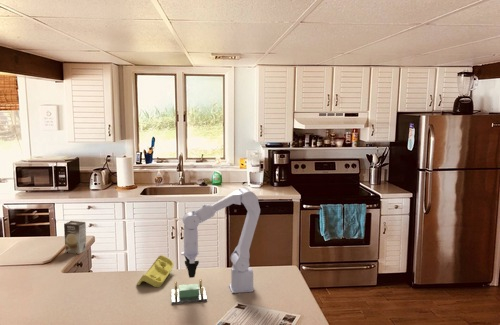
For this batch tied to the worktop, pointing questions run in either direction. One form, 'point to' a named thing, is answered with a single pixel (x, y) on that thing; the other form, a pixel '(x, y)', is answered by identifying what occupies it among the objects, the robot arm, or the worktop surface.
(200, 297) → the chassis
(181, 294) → the green rectangular block
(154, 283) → the plastic component
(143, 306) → the worktop surface
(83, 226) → the coffee box
